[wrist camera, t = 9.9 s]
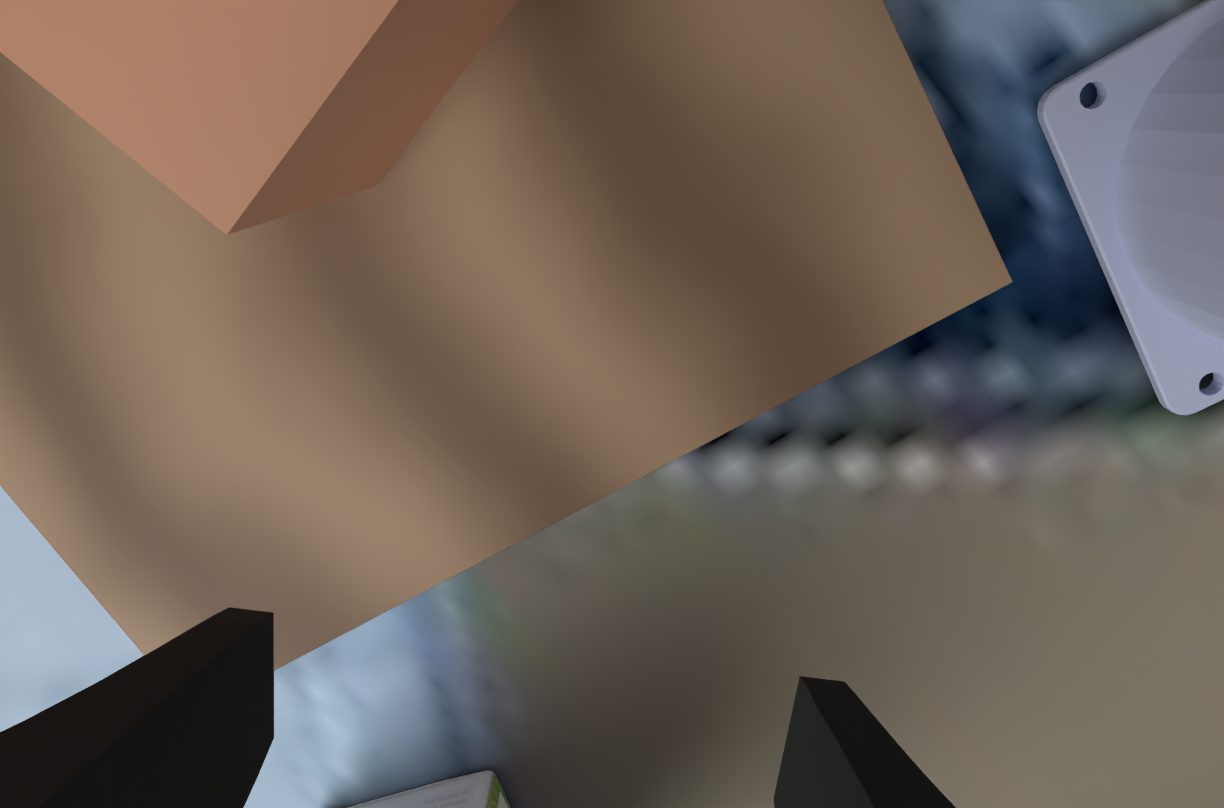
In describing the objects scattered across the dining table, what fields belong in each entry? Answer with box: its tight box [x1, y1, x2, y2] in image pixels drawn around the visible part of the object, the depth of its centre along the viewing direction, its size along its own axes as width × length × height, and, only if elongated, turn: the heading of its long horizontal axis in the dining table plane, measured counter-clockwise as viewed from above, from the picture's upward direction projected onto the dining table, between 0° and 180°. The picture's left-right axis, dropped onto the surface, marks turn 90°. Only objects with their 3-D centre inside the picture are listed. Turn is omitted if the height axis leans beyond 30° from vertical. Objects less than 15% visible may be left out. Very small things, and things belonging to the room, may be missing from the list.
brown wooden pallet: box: [0, 0, 1012, 670], centre depth 18 cm, size 22×18×3 cm
